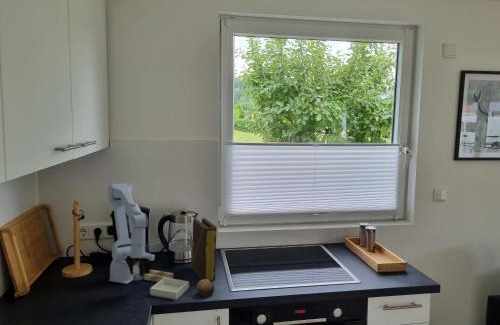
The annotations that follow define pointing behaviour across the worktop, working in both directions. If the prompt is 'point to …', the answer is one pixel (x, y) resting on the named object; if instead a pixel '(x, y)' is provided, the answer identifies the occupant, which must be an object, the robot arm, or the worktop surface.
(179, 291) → the dish
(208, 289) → the mushroom
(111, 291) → the worktop surface
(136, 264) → the cylinder
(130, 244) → the robot arm
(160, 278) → the trough
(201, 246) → the book
